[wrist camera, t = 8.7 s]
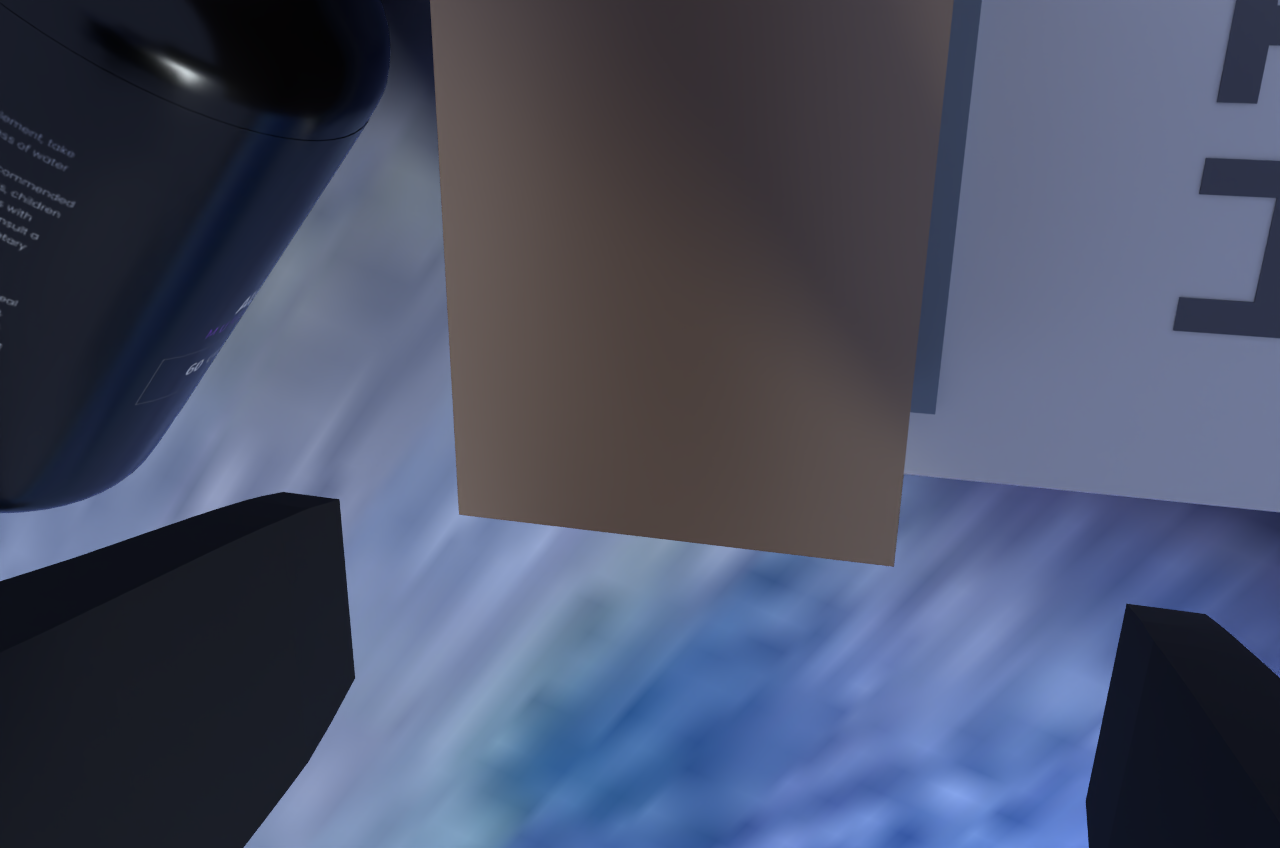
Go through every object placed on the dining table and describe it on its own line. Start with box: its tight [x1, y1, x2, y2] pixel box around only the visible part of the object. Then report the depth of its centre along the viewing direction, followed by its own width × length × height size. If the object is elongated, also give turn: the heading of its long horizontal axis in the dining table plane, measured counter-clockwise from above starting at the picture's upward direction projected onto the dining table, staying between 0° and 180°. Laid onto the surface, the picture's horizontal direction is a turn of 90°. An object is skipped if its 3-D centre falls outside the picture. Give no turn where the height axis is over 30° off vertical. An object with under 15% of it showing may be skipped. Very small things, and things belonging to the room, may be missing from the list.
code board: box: [904, 0, 1280, 512], centre depth 17 cm, size 14×11×1 cm
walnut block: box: [430, 0, 954, 567], centre depth 14 cm, size 5×8×6 cm, turn 0°
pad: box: [910, 0, 982, 414], centre depth 17 cm, size 6×9×1 cm
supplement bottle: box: [0, 0, 390, 513], centre depth 16 cm, size 7×7×12 cm
